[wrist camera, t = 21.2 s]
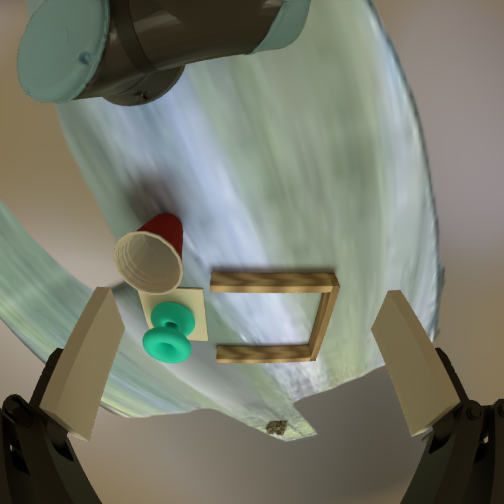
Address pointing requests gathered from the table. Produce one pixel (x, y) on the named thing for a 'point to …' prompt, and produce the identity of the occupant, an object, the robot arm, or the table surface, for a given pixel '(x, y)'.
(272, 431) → the rough brown lump
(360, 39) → the table surface
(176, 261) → the plastic cup
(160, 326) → the donuts
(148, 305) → the beige mat
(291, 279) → the wooden u-shaped frame
